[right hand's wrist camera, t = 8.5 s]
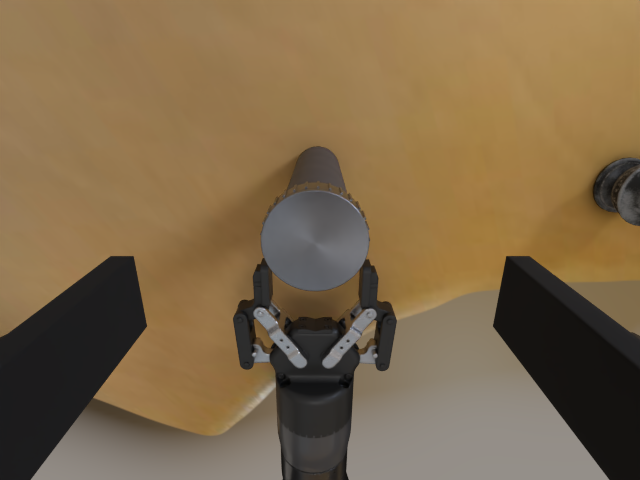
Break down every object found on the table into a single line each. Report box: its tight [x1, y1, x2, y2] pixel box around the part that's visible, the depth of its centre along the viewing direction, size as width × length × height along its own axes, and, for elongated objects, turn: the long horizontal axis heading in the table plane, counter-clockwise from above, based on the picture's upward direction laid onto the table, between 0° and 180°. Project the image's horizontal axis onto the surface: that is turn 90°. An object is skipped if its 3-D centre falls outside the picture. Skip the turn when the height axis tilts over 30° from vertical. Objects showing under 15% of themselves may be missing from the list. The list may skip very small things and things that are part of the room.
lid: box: [260, 181, 370, 291], centre depth 18 cm, size 5×5×2 cm
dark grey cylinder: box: [287, 147, 347, 193], centre depth 27 cm, size 4×4×19 cm
